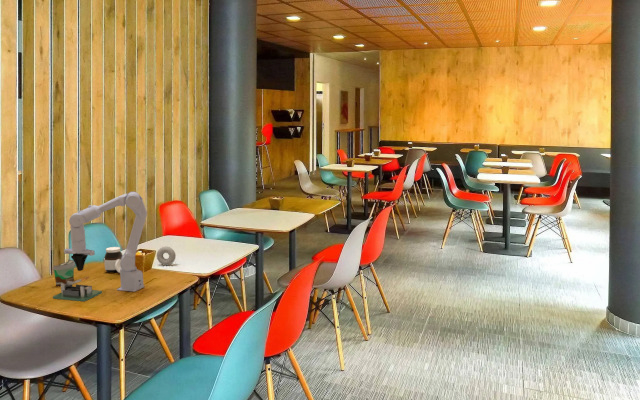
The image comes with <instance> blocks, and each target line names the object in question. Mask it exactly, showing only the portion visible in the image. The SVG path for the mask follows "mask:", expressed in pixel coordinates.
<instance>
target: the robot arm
mask: <svg viewBox="0 0 640 400" xmlns="http://www.w3.org/2000/svg"><path fill="white" fill-rule="evenodd" d="M116 207H128V208H129V209H130V210H132V212H133V213H134V214H135V218H134V222H133V225H132V227H131V228H132V229H131V232H130V235H129V239H128V242H127V245H126V249H125V251H124V253H123V254H122V255H123V256H122V257H121V262H120V267H121V269H120V273H119V277H120V287H118V288H116V290H117V291H123V292H137V291H140V290H141V289H143V288H145V287H146V286H145V284H144V274H143V271H142V270H140V269H137V266H136V254H137V250H138V247H139V245H140V241H141V236H142V233H143V230H144V226H145V223H146V219H147V216H148V212H147V208H146V206H145V203H144V200H143V197H142V196H141V195H140V193H138V192H137V191H130V192H128V193H123V194H121V195H118V196H117V197H114V198H112V199H110V200H109V201H106V202H105V203H102V204H100V205H96V204H93V205H92V204H89V205H88V207H86V208H84V209H82V210H81V209H80V210H77V212H74V213H72V215H70V217H69V219H68V222H69V225H70V242H71V248H65V249H63V253H64V254H65V255H67V254H69V255H70V254H71V256H70V258H71V260H73V261H74V263H75V266H76V269H77V271H78V272H81V271H83V270H84V267H85V262H86V260H87V258H88V256H91V257H93V256H95V255H96V254H95V250H93V249H87V245H86V232H85V231H86V230H85V225H84V223H85V224H87V223H89V222H91V221H93V220H95V219H98V218H100V217H101V214H102V213H103V212H106V211H109V210H111V209H114V208H116Z"/></svg>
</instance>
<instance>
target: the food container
mask: <svg viewBox="0 0 640 400" xmlns="http://www.w3.org/2000/svg"><path fill="white" fill-rule="evenodd" d="M75 266H76V264H75V262H74V261H73V259H67V261H66V262H62V263H60V264H58V265H53V266H52V271H53V273H54V280H55V286H57V287H61V284H66V283H67V281H72V282H73V281H75V279H74V278H75V275H74V274H75V271H74V269H75Z"/></svg>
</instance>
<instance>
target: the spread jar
mask: <svg viewBox="0 0 640 400" xmlns="http://www.w3.org/2000/svg"><path fill="white" fill-rule="evenodd" d="M105 252H106V253H105V255H104V263H103V264H104V270H105V272H107V273H113V274H114V273H118V274H120V269H121V267H120V262H121V257H122V256H123V255H124V254H123V253H122V251H121V247H120V246H111V247H107V248H105Z"/></svg>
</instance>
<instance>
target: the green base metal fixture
mask: <svg viewBox="0 0 640 400" xmlns="http://www.w3.org/2000/svg"><path fill="white" fill-rule="evenodd" d="M71 282H72V281H67V283H71ZM60 291H61V292H59V293H57V294H55V295H53V296H52V299H54V300H55V299H56V300H67V301H74V302H75V301H76V302H86V301H88V300H91V299H93V298H95V297H97V296H99V295H101V294H103V291H102V290H94V289H93V286H92V285H87V284H86V285H84V284H75V285H74V286H73V284H71V285H69V286H66V284H61V286H60Z"/></svg>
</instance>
